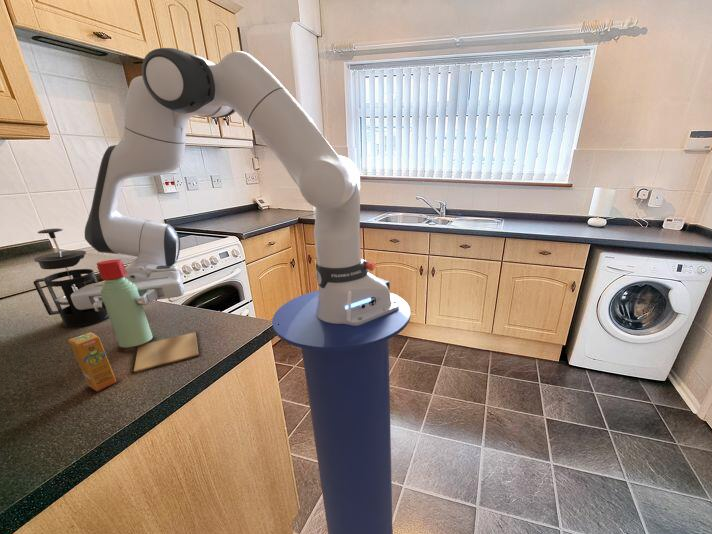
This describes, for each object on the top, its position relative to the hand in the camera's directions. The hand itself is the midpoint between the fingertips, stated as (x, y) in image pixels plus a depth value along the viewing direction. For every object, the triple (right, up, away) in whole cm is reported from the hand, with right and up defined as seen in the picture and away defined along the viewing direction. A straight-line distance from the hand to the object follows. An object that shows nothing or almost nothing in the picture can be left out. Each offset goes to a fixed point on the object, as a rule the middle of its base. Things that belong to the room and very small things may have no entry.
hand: (120, 304), depth 70 cm
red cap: (-1, +6, 0) cm, 6 cm away
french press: (-22, -4, +16) cm, 28 cm away
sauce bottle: (0, -8, +5) cm, 9 cm away
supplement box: (+4, -15, -8) cm, 17 cm away
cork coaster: (+8, -10, +2) cm, 13 cm away
